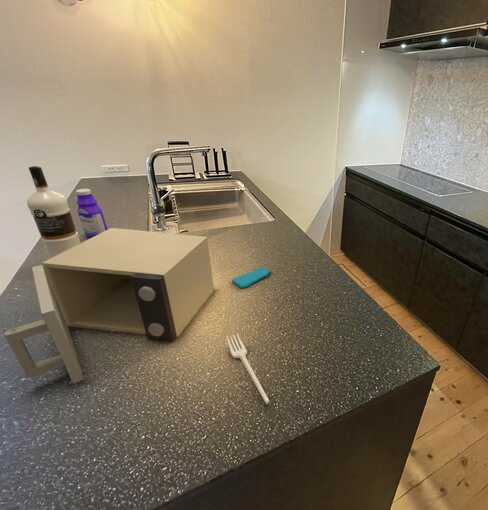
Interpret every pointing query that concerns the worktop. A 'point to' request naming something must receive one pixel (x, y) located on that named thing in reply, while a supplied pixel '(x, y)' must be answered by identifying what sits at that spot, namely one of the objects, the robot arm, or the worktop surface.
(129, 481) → the worktop surface
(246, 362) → the fork
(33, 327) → the microwave door
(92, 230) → the bottle
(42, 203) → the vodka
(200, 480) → the worktop surface
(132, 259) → the microwave
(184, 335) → the worktop surface
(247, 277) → the sponge
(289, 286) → the worktop surface
